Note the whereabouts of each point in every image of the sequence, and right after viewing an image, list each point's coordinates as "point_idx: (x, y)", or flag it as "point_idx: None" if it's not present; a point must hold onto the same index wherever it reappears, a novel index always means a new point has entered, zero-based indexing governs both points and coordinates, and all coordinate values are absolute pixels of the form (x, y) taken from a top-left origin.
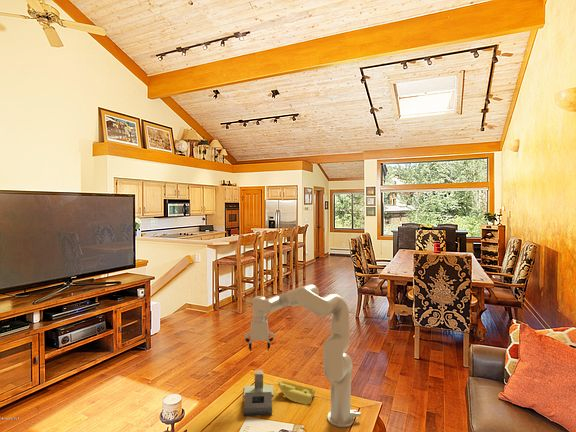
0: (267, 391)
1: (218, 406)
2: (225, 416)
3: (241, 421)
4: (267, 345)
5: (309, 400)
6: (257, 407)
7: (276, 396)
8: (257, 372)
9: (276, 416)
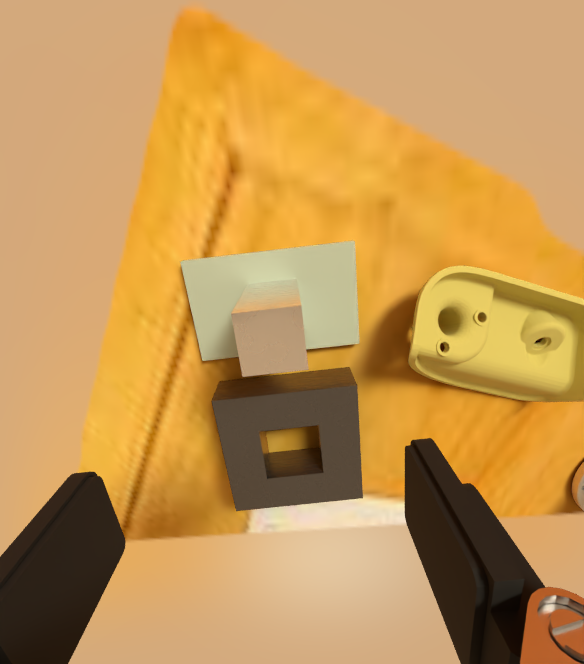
0: (325, 316)
1: (111, 432)
2: (169, 487)
3: None
4: (444, 620)
5: (540, 394)
6: (297, 503)
7: (373, 339)
8: (259, 350)
9: (373, 475)
